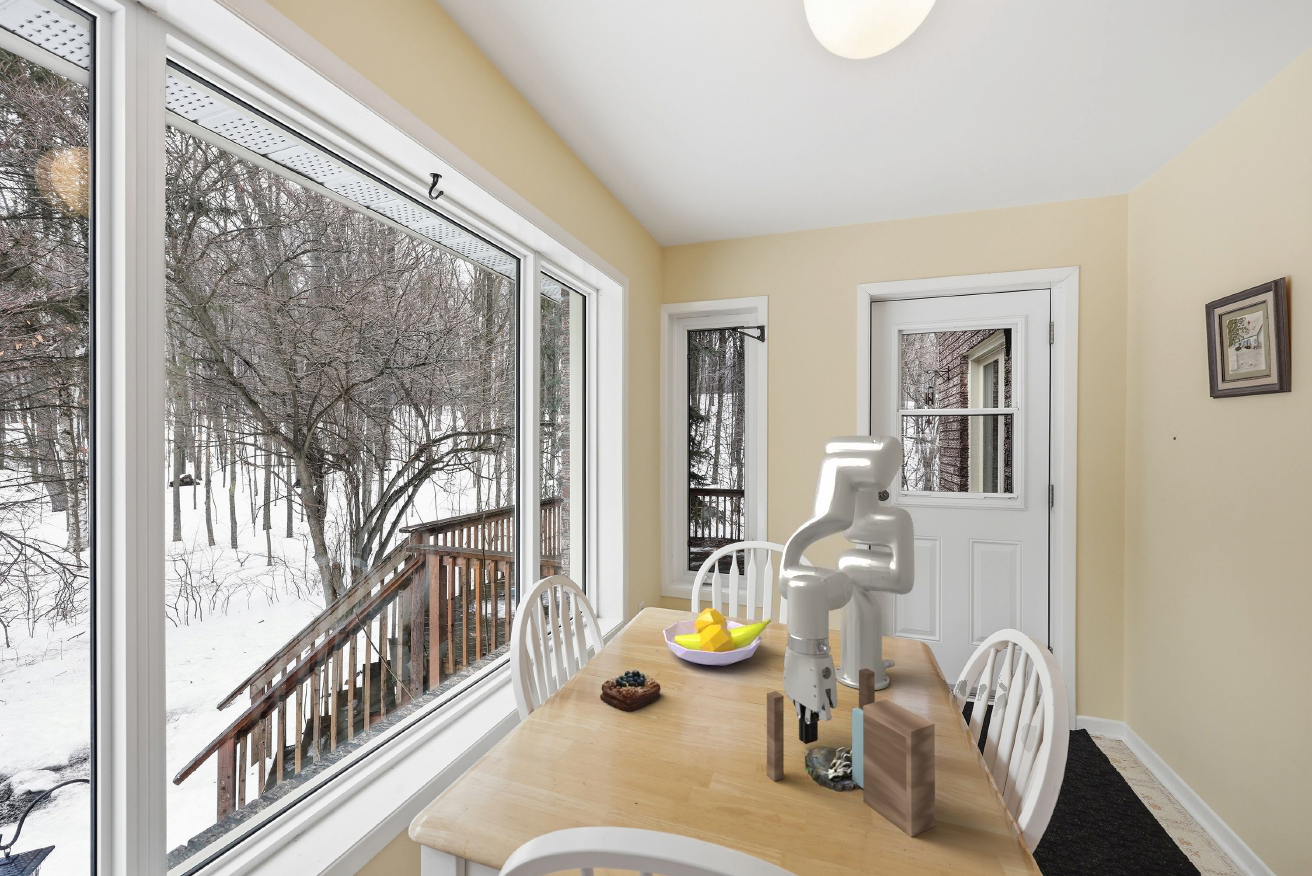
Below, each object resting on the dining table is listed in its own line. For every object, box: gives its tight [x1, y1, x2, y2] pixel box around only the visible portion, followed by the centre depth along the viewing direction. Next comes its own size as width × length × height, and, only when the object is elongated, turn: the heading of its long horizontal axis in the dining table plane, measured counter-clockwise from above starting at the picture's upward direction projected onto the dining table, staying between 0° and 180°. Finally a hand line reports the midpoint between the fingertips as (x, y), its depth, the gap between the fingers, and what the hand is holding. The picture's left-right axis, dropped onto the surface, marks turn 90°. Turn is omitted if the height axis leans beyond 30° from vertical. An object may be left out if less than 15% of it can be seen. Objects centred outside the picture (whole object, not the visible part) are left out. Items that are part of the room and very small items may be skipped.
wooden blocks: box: [766, 668, 936, 838], centre depth 89 cm, size 24×21×15 cm
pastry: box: [599, 669, 662, 713], centre depth 122 cm, size 11×12×6 cm
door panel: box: [851, 706, 863, 789], centre depth 87 cm, size 1×10×12 cm, turn 27°
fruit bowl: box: [662, 607, 772, 667], centre depth 146 cm, size 28×27×11 cm
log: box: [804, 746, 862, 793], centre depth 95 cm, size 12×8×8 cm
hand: (808, 740), depth 102 cm, fingers closed
